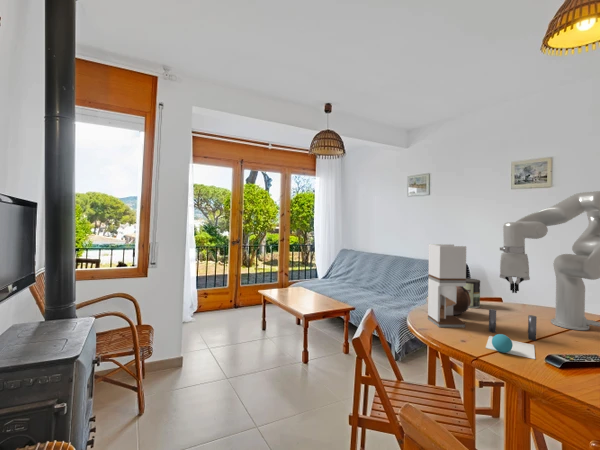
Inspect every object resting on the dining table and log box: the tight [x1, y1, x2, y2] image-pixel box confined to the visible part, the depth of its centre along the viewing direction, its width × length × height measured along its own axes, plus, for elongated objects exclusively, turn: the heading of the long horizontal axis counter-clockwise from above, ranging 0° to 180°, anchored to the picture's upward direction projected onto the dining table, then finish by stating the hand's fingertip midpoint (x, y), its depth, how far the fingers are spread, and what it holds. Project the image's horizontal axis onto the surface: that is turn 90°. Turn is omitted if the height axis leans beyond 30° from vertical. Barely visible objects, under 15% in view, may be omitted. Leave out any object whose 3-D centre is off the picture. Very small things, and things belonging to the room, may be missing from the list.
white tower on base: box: [427, 243, 467, 328], centre depth 132 cm, size 11×11×35 cm
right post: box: [527, 314, 538, 341], centre depth 115 cm, size 2×2×9 cm
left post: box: [488, 308, 497, 333], centre depth 123 cm, size 2×2×9 cm
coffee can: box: [462, 277, 481, 309], centre depth 161 cm, size 10×10×14 cm
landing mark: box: [485, 335, 536, 360], centre depth 108 cm, size 14×14×1 cm
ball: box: [492, 333, 513, 353], centre depth 103 cm, size 6×6×6 cm
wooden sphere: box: [453, 286, 471, 316], centre depth 146 cm, size 15×15×15 cm
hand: (514, 292), depth 129 cm, fingers closed
